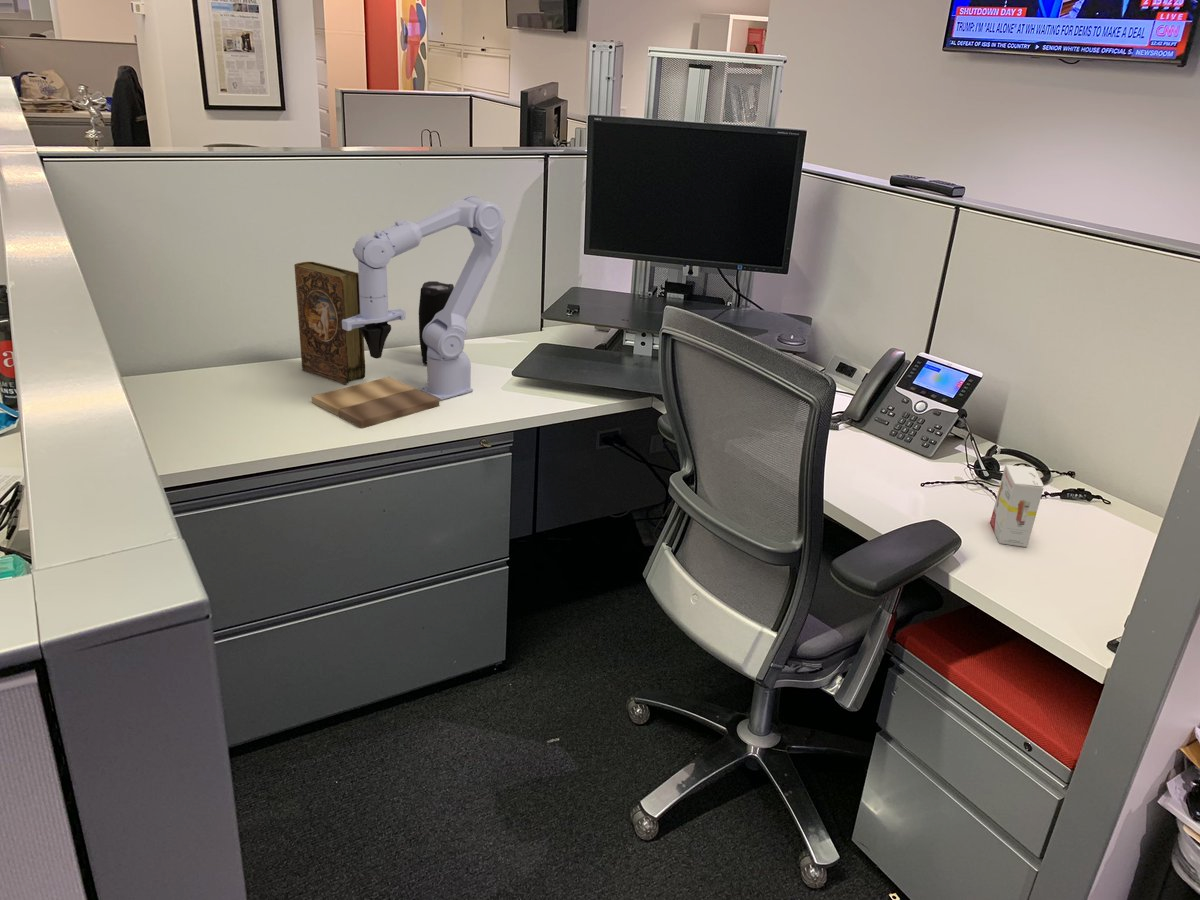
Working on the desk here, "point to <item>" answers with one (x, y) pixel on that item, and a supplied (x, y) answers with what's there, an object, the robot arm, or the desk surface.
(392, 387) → the oak plank
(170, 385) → the desk surface
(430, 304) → the portable speaker
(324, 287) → the book
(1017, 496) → the ink box
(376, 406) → the walnut strip
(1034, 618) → the desk surface
